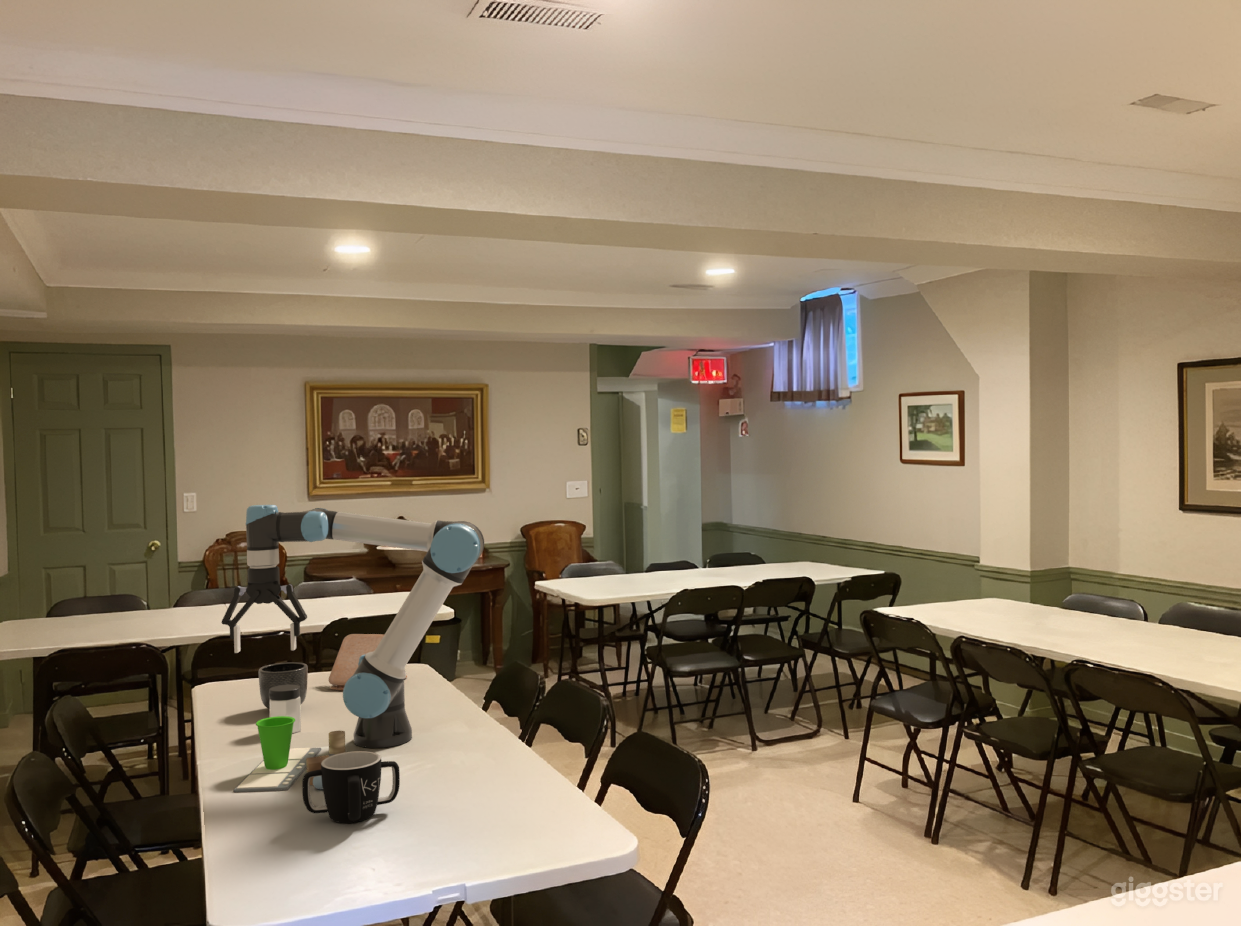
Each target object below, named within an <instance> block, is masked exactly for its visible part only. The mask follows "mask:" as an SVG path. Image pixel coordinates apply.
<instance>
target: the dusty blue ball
mask: <svg viewBox="0 0 1241 926" xmlns="http://www.w3.org/2000/svg"><path fill="white" fill-rule="evenodd" d="M312 786H314V788H316V789H317V790H323V787H322V777H321V776H317V777H314V778H313V785H312Z"/></svg>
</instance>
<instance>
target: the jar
mask: <svg viewBox="0 0 1241 926" xmlns="http://www.w3.org/2000/svg"><path fill="white" fill-rule="evenodd" d="M269 699H270V709H268V710H269V712H268V713H269V715H268V716H269V717H277V716H288V717H293V718H294V719H295V722H294V723H293V730H292V734H296V733H299V732H301V731H302V720H301V719H302V714H301V713H302V712H301V711H302V710H301V707H302V706H301V705H302V704H301V705H300V686H298V685H280V686H275V687H272V688H270V689H269Z"/></svg>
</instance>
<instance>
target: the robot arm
mask: <svg viewBox="0 0 1241 926" xmlns="http://www.w3.org/2000/svg"><path fill="white" fill-rule="evenodd" d="M245 516H246V519H245V532H246V565H247V566H248V569H247V571H246V572H247V586H241V585H238V586H236V587H234V588H233V589H234V590H233V597H232V599H231V601H230V603H229V605H228V608H227V610H226V611H225V614H224V616H223V618H222V619H221V624H222V625H225V626H228V627H229V639H230V640H233V644H234V645H233V647H234V654H238V653H239V652H241V649H242V648H241V625H240V624H239V621H240V620H241V619H242V618H243V617H244V615H245V614H246V613H247V611H249V610H250V608H251V606H253V605H254V604H257V605H261V604H268V605H269V604H271V603H273V604H274V605H276V606H277V607H278V609H280V610H281V611H282V613H283V614H285V616H287V618H289V620H290V621H291V622H292V623H290V625H289V628H290V631H289V632H290V651H295V650H296V649H297V637H299V636H300V635H301V626H300V625H301V622H304V621H306V620H307V619H308V614H307V613H306V611H305V609H304V608H303V605H301V602H300V600H299V599H298V596H297V595H296V594H295V591H294V585H293V584H292V583H289V584H285V585H281V583H280V580H281V579H280V567H279V566H278V565H279V564H280V553H279V552H280V550H279V547H280V546H279V543H289V542H290V543H296V542H297V543H299V542H301V543H302V542H304V543H305V542H306V543H307V542H309V543H312V542H322V541H324V540H325V539H326V540H333V541H334V540H335V541H342V542H344V541H345V542H352V543H357V544H358V543H359V544H366V545H374V546H383V547H389V548H398V549H403V550H404V549H405V550H412V551H422V552H426V554H425V555H424V557H423V558H422V560H421V563H422V569H423V570H422V572H421V574H420V575H419V577H418V579H417V580H416V582H415V583H414V585H413V587H412V588H411V590H410V592H409V594H408V595H407V597H406V598H405V600H404V602H403V603H402V605H401V606H400V609H399V610H398V612H397V613H396V615H395V616H394V618H393V620H392V621H391V623H390V625H389V627H388V628H387V629H386V632H385V633H384V634H383V635H384V636H383V638H382V640H381V641H380V643H379V645H378V646H377V648H376V650H375V651H373V652H369V653H366V654H365V655H362V656H360V657H359V663H358V668H357V669H356V671H355V673H354V674H353V676H352V677H350V678H349V679H348V680H347V682H346V684H345V687H344V690H342V700H343V702H344V705H345V708H346V709H347V710H348V711H349V713H351V714H352V715H354V716H356V717H358V719H357V721H356V725H355V728H354V732H353V743H354V744H355V745H356V746H357V747H361V748H369V749H373V748H374V749H375V748H376V749H377V748H378V749H379V748H390V747H395V746H396V747H397V746H399V745H402V744H405V743H407V742H409V741H411V739H413V729H412V728H413V727H412V725H411V722H410V720H409V717H408V715H407V712H406V707H405V706H406V704H405V677H406V675H407V673H406V669H405V668H406V666H407V664H408V662H409V661H410V659H411V657H412V656H413V654H414V652H415V651H416V649H417V648H418V646H419V644H420V643H421V641H422V640H423V638H424V636H425V635H426V632H427V631H428V630H429V628H430V626H431V625H432V623H433V621H434V619H436V616H437V614H438V613H439V611H440V610H441V608H442V606H443V604H444V603H445V601H446V599H447V597H448V596H449V594H451V591H452V590H453V588H454V587H458V586H461V585H462V584H463V583H464V581H465V580H466V578H467V576H468V575H469V574H470V571H471V569H472V568H473V566H474V564H475V563H476V561H478V559H480V557H481V556H482V554H483V551H484V547H485V538H484V535H483V533H482V531H481V529H480V528H479V527H478V526H477V525H476V524H474V523H471V522H469V521H465V520H458V521H449V520H448V521H446V520H438V519H436V520H435V521H433V522H432V523H430V522H423V521H416V520H415V521H414V520H407V519H400V518H392V517H383V516H378V515H377V516H375V515H367V514H360V513H353V512H345V511H344V512H343V511H336V510H328V509H326V508H321V507H316V508H312V509H309V510H305V511H304V510H303V511H292V512H281V511H279V509H278V506H277V505H276V504H256V505H250V506H248V507H247V508H246V515H245ZM282 591H283V592H284V594H285V595H287V597H288V599H289V602H290V603H291V606H292V607H293V608H294V610H295V611H296V613H297V614H296V613H295V612H294V611H293V610H292V609H291V608H290V606H289V605H287V603H286V602H285V601H284V600H283V599H282V597H281V596H280V593H281V592H282ZM245 593H246V594H247V595H248V596H249V599H247V601H246V602H245V603H244V605H243V606H242V607H241V608H240V610H238V612H237V614H235V615H234V617H233V618H232V616H233V613H234V612H235V611H236V609H237V605H238V604H239V602H240V599H241V597H242V596H243V595H244V594H245ZM231 618H232V619H231Z"/></svg>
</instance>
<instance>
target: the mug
mask: <svg viewBox="0 0 1241 926" xmlns="http://www.w3.org/2000/svg"><path fill="white" fill-rule="evenodd" d="M384 768H391V772H392V785H391V791H390V793H389V795H386V796H382V797H380V789H381V782H382V781H381V780H382V769H384ZM317 776H321V777H322V787H323V789H322V792H323V798H324V803H325V805H314V804H313V802H312V800H311V785H310V778H311V777H317ZM400 776H401V775H400V766H399V764H398V763H397V762H396V761H394V760H391V761H390V760H387V761H385V760H384V761H382V756H381V755H380V754H379V753H376V752H372V751H363V750H361V751H360V750H356V751H348V752H347V751H345V753H340V754H336V755H333V756H330V757H328V758H326V759H324V760H323V761H322V763H321V769H320V770H315V771H310V772H307V771H306V772H305V773H304V775H303V777H302V780H301V781H302V782H301V783H302V785H301V787H302V788H301V791H302V800H303V805H304V807H306V809H307V811H308V812H309V813H312V814H325V813H328V816H329V818H330V820H331V821H333V822H336V823H341V824H350V823H359V822H362V821H365V820H368V819H370V818H371V817H373V815H374V814H375V813H376V810H377V807H378V806H380V805H386V804H391V803H392V802H393V801H394V800H395V799H396V798H397V795H398V794H399V792H400V785H401V784H400V783H401V782H400V781H401V779H400V778H401V777H400Z"/></svg>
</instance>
